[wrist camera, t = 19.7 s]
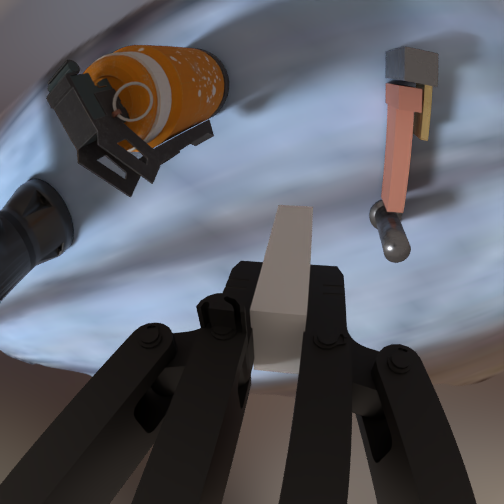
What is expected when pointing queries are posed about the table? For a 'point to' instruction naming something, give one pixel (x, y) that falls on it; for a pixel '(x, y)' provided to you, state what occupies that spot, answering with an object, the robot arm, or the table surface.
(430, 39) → the table surface
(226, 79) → the canister
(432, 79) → the grey hammer
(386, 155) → the pink l-shaped bracket
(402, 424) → the robot arm
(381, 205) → the post
